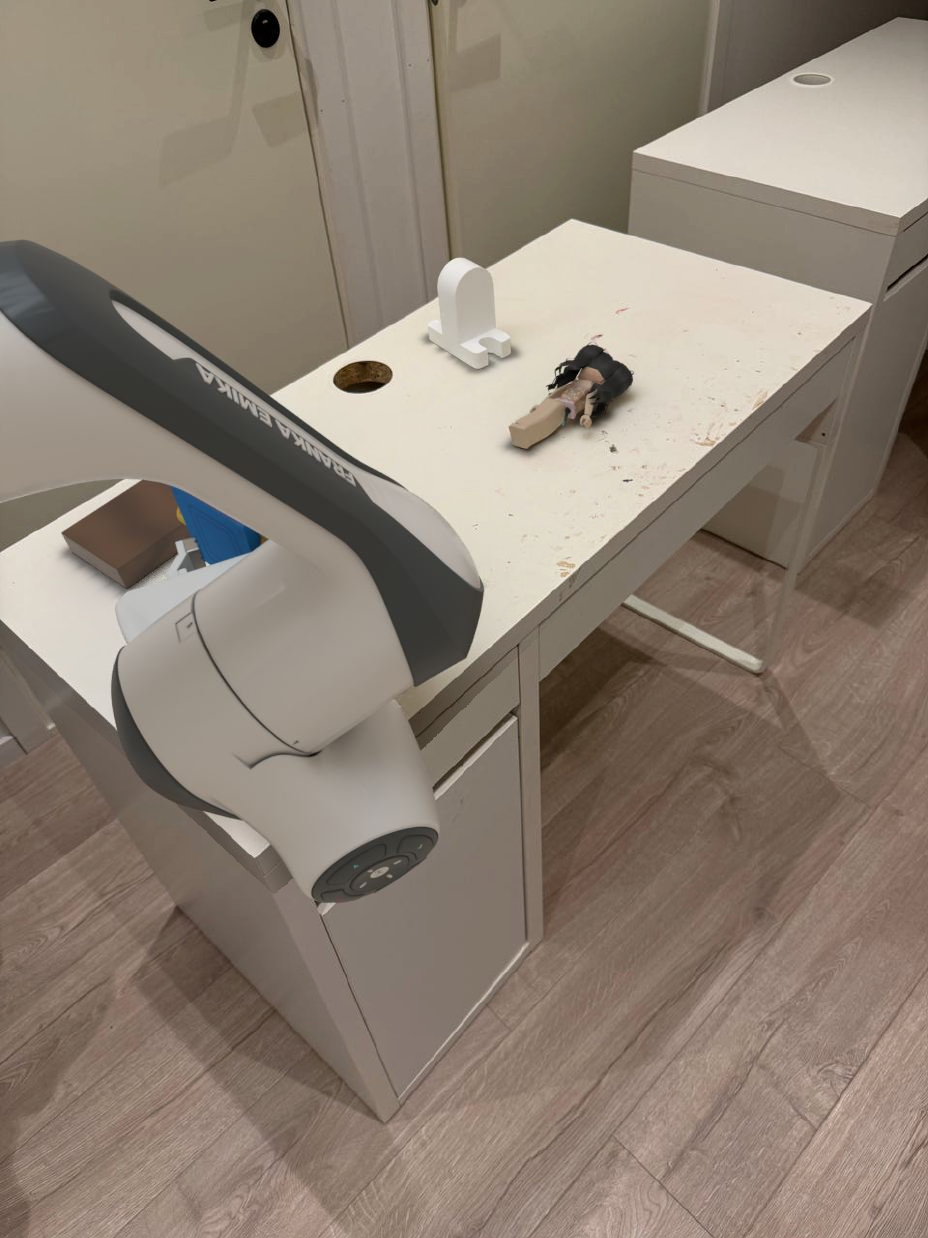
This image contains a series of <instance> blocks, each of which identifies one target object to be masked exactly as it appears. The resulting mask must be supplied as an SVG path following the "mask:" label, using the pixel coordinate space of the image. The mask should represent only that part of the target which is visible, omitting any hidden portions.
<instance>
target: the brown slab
mask: <svg viewBox="0 0 928 1238" xmlns="http://www.w3.org/2000/svg"><path fill="white" fill-rule="evenodd" d="M177 509H178V504H177V502H176V499H175V497H174V495H173V492H172V490H171V487H170V485H167V484H164V483H160V482H154V481H148V480H139V481H137V482H136V483H135V484H133V485H132V486H130V487H129V488H127V489H126V490H124V491H122V492H121V493H120V494H118V495H116V496H115V497H113V498H112V499H110V500H109V501H107V502H105V503H104V504H103V505H101V506H100V507H97V508H96V509H95V510H93V511H92V512H89V514H87V515H86V516H84V517H83V518H80V519H79V520H78V521H77V522H75V523H74V524H72V525H71V526H69V527H66V528H65V529H64V530H62V531H60V532H61V536H62V538H63V540H64V541H65V543H66V545H67V547H68V548H69V550H70V552H71V553H72V554H74V555H76V556H77V557H78V558H80V559H81V560H83V561H85V562H86V563H88V564H89V565H90V566H92V567H93V568H95V569H97V571H100V572H101V573H102V574H103V575H105V576H107V577H108V578H110V579H111V580H113V581H114V582H116V583H117V584H119V586H122V587H123V588H125V589H126V590H127V589H129V588H131V587H132V586H133V585H135V584H136V583H137V582H139V581H140V580H141V579H143V578H144V577H145V576H147V575H148V574H150V573H151V572H153V571H154V570H155V569H157V568H158V567H159V566H161V565H162V564H163V563H165V562H167V561H168V560H169V559H170V558H172V557H173V556H175V555H177V554H178V551H177V547H176V543H175V542H177V541H180V540H184V539H187V538H191V535H190V533H189V531H188V528H187V526H186V525H185V524H183V523H182V522H180V521H179V520H178V518H177Z"/></svg>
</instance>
